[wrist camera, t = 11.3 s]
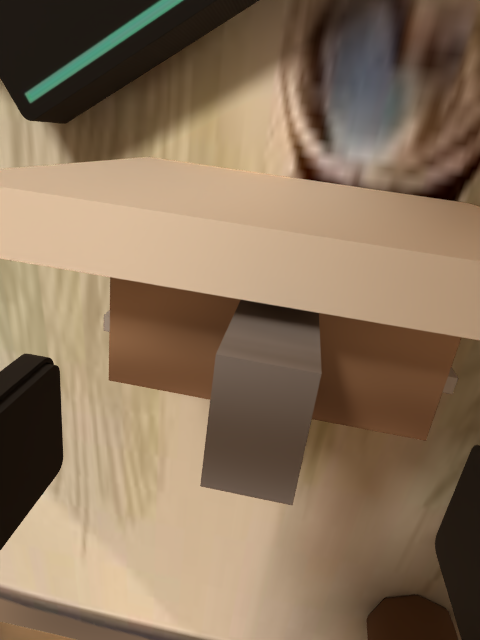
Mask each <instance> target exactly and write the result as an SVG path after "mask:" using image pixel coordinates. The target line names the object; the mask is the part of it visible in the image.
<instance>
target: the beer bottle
mask: <svg viewBox="0 0 480 640" xmlns="http://www.w3.org/2000/svg"><path fill="white" fill-rule="evenodd" d="M367 634H368V640H458V637H457V634H456V631H455V628H454V625H453V622H452V620H451V617H450V614H449V612H448V610H447V609H446V608H444V607H442V606H440V605H438V604H436V603H434V602H432V601H430V600H428V599H426V598H423V597H421V596H419V595H409V596H399V597H390V598H385V599H384V600H383V601H382V602H381V603H380V604H379V605H378V606H377V607H376V608H375V609H374V610H373V611H372V612H371V613H370V614H369V616H368V618H367Z"/></svg>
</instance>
